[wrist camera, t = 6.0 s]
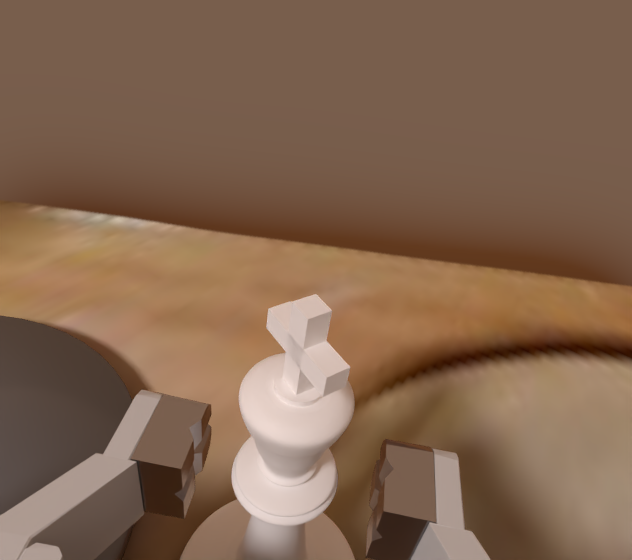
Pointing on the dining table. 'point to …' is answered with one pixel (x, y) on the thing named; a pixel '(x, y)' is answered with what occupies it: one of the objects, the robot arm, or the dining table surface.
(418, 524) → the robot arm
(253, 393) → the chess piece
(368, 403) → the dining table surface
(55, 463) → the charcoal plate
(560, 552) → the dining table surface
